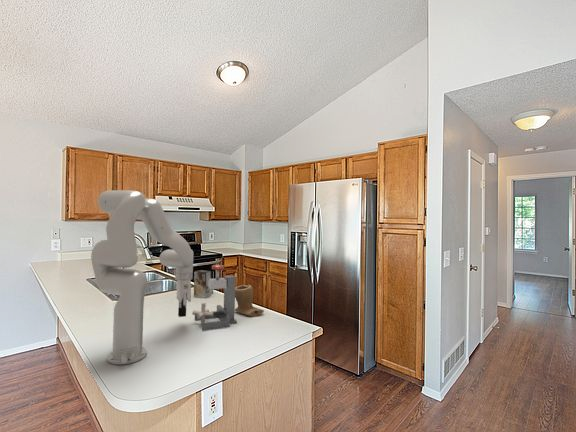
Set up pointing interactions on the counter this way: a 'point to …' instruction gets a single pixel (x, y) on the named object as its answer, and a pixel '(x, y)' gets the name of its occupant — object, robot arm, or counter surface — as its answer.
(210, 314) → the pipe connector
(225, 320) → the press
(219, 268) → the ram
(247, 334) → the counter surface
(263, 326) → the counter surface
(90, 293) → the counter surface
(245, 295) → the brown boot vase
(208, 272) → the coffee box
